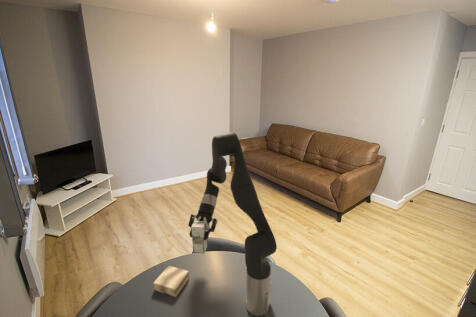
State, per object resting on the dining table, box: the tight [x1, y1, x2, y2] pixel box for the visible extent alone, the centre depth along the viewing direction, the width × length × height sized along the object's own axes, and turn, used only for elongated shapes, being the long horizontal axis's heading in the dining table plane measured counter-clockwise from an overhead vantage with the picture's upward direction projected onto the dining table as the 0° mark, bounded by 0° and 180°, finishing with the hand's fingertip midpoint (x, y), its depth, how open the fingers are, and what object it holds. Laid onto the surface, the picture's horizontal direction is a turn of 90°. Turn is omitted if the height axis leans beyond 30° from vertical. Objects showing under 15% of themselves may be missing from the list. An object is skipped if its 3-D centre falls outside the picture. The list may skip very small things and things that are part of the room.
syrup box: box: [190, 220, 208, 254], centre depth 110 cm, size 6×6×14 cm
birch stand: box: [153, 265, 190, 298], centre depth 104 cm, size 11×11×4 cm
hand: (198, 238), depth 108 cm, fingers closed on syrup box, 6 cm apart
